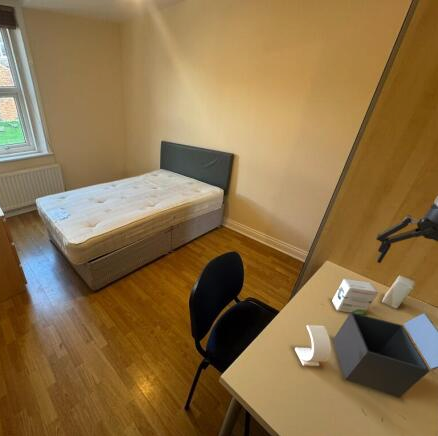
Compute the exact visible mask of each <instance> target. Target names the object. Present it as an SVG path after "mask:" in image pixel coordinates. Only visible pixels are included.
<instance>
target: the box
mask: <svg viewBox="0 0 438 436" xmlns="http://www.w3.org/2000/svg"><path fill="white" fill-rule="evenodd" d="M415 284H416V281H414V280H412V279H410V278H407V277H405V276H403V275H398V277H397V278H396V279H395V280H394V282H393V283H392V285H391V286H390V288H388V290H387V292H386V293H385V294H384V295H383V298H382V301H381V302H382V303H384V304H386V305H387V306H389V307H392V308H393V309H398V308H399V307H400V306H401V305H402V303H403V302H404V301H405V300H406V298H407V297H408V296H409V294H410V293H412V291H413V289H414V288H415Z"/></svg>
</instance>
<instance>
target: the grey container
mask: <svg viewBox="0 0 438 436" xmlns="http://www.w3.org/2000/svg"><path fill="white" fill-rule="evenodd" d="M412 340H413V339H412V338H411V336H410V334H408V331H407V329H406V328H405V326H404V325H402V324H398V323H395V322H392V321H388V320H383V319H380V318H376V317H371V316H367V315H365V314H364V315H362V314H356V313H352V312H351V313H350V312H349V314H348V316H347V317H346V319H345V320H344V322H343V323H342V325H341V326H340V328H339V330H338V331H337V332H336V334H335V336H334V337H333V342H334V346H335V349H336V353H337V356H338V360H339V362H340V366H341V369H342V373H343V376H344V380H346V381H349V382H352V383H354V384H358V385H360V386H364V387H367V388H369V389H373V390H375V391H378V392H381V393H385V394H387V395H390V396H393V397H395V398H399V399H400V398H401V397H403V396H404V395H405V394H406V393H407V392H408V391H409V390H410V389H412V388H413V387H414V386H415V385H416V384H417V383H418V382H420V380H421V379H423V378H424V377H425V376H426V375H428V373H430V372H431V371H430V369H429V367H428V366H427V365H428V364H426V361H425V359H424V358H423V356H421V355H422V354H421V353H420V351H418V350H419V349H417V346H416V344H415V343H414V341H412Z"/></svg>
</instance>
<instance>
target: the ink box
mask: <svg viewBox="0 0 438 436" xmlns="http://www.w3.org/2000/svg"><path fill="white" fill-rule="evenodd" d="M378 294H379V291H378V290H377V289H376V287H375V285H373V283H371V282H369V281H367V282H366V281H361V280H354V279H349V278H343V280H342V281H341V283H340V285H339V287H338V288H337V291H336V293H335V295H333V298H332V300H331V301H332V303H333V306H334V307H335V310H336V311H338V312H339V311H340V312H344V313H349V314H350V313H351V312H352V313H356V314H360V315H364V316H365V314H366V312H367V311H368V309H369V308H370V306H371V304H373V301H374V300H375V299H376V297H377V296H378Z"/></svg>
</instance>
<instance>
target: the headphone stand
mask: <svg viewBox="0 0 438 436" xmlns="http://www.w3.org/2000/svg"><path fill="white" fill-rule="evenodd" d="M306 329H307V331H308V333H309V336H310V337H309V338H310V341H311V347H295V348H294V350H295V353H296V354H297V356H298V358H299V360H300V362H301V364H302V366H310V367H320V362H327V360H329V359H330V356H331V354H332V353H331V352H332V344H331V340H330V339H331V338H330V336H329V333H328V331H327V329H326V327H325V326H324V325H316V324H315V325H314V324H313V325H312V324H307V325H306Z"/></svg>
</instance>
